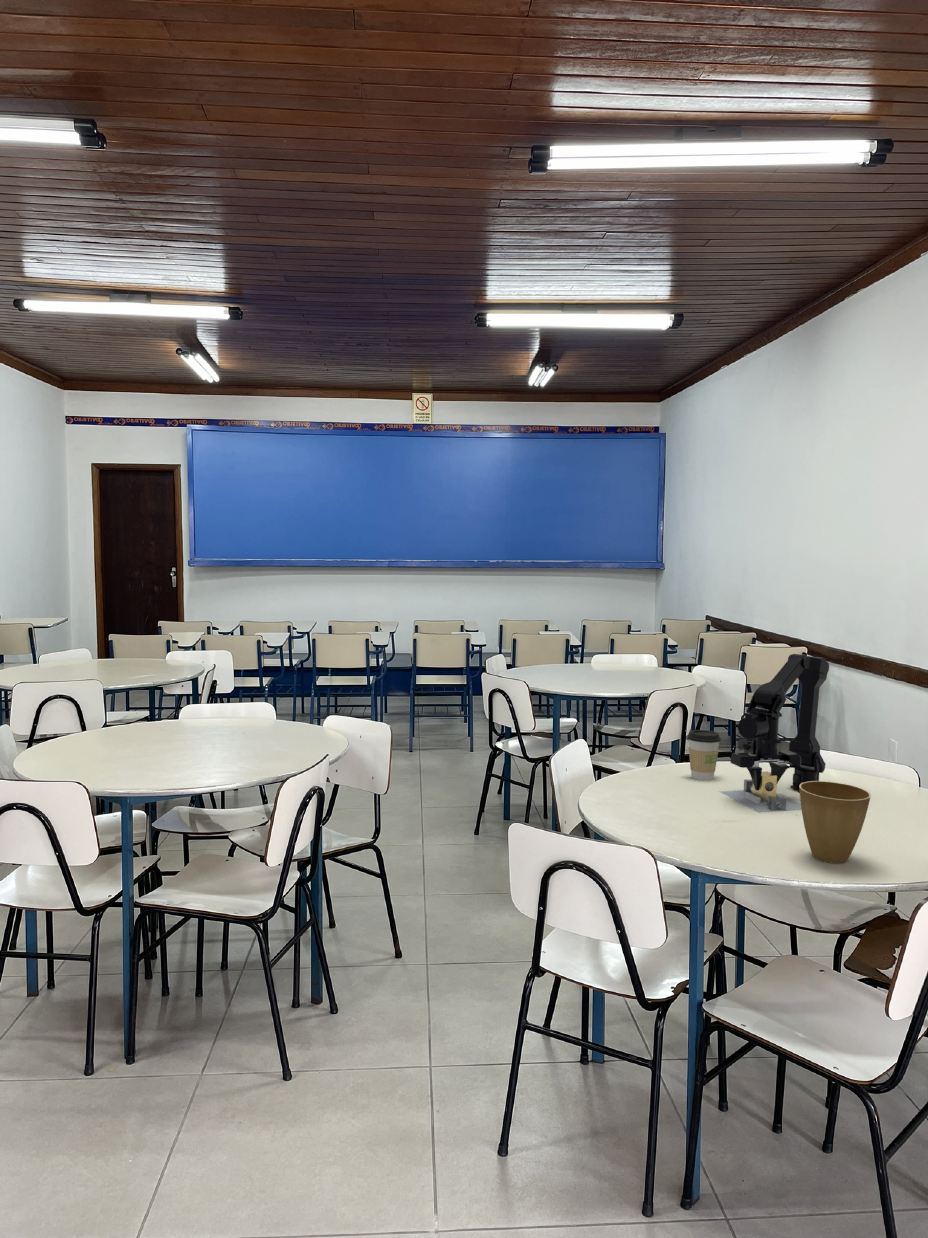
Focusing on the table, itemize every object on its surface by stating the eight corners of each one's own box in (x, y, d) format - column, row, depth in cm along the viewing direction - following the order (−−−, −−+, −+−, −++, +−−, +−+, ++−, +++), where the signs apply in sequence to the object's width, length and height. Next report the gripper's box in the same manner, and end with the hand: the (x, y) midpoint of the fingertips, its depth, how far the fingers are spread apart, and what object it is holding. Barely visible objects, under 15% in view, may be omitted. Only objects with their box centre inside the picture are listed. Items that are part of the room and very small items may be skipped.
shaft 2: (762, 804, 231) (763, 792, 231) (777, 804, 231) (777, 792, 231) (771, 810, 225) (771, 798, 225) (785, 810, 226) (786, 798, 225)
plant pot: (794, 863, 189) (797, 793, 188) (797, 843, 203) (800, 778, 202) (868, 874, 183) (872, 802, 182) (865, 853, 197) (869, 785, 196)
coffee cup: (723, 786, 253) (725, 736, 252) (690, 785, 253) (692, 736, 252) (714, 777, 263) (716, 730, 262) (682, 776, 263) (684, 729, 262)
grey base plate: (768, 793, 247) (769, 783, 246) (811, 813, 227) (812, 803, 227) (719, 795, 243) (719, 786, 243) (758, 816, 224) (758, 806, 223)
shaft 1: (765, 796, 239) (765, 784, 239) (751, 796, 239) (751, 784, 239) (757, 790, 245) (757, 779, 244) (743, 790, 244) (744, 779, 244)
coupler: (776, 797, 233) (777, 775, 233) (761, 798, 232) (762, 776, 232) (766, 792, 238) (767, 771, 237) (752, 793, 237) (752, 772, 236)
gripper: (779, 727, 244) (777, 780, 245) (721, 729, 239) (719, 783, 241) (803, 735, 233) (801, 791, 234) (742, 737, 228) (740, 794, 230)
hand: (764, 789), depth 235 cm, fingers closed on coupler, 4 cm apart
